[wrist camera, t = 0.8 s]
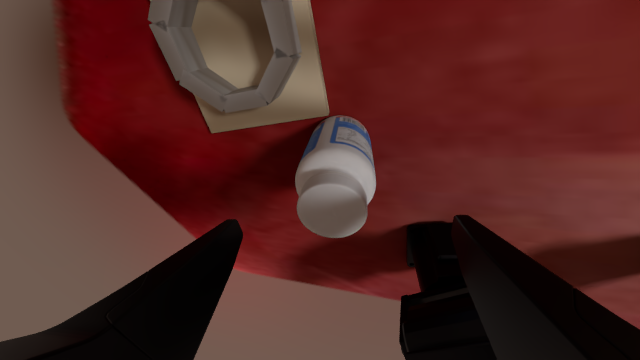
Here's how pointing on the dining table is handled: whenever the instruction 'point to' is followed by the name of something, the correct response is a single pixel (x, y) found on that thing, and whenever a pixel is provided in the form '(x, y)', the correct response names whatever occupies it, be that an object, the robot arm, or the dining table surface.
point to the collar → (243, 59)
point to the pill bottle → (336, 178)
